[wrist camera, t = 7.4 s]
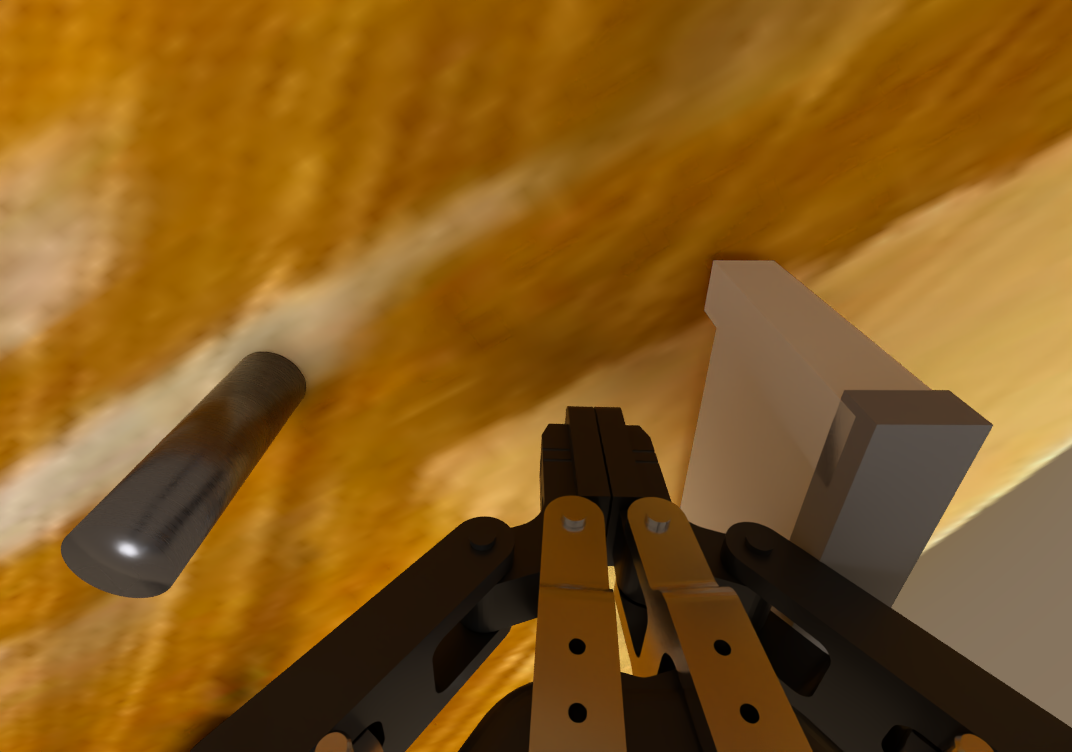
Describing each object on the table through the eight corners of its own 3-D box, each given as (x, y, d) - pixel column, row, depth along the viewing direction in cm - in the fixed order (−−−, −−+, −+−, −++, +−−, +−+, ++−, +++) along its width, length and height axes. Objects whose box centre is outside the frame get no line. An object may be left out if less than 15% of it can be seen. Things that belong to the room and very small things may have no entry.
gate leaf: (686, 617, 24) (751, 856, 17) (647, 617, 24) (695, 856, 17) (775, 254, 15) (992, 425, 8) (714, 253, 15) (876, 424, 8)
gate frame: (261, 333, 18) (-50, 637, 8) (699, 625, 26) (792, 943, 17) (221, 388, 19) (-93, 711, 9) (653, 651, 27) (716, 962, 18)
